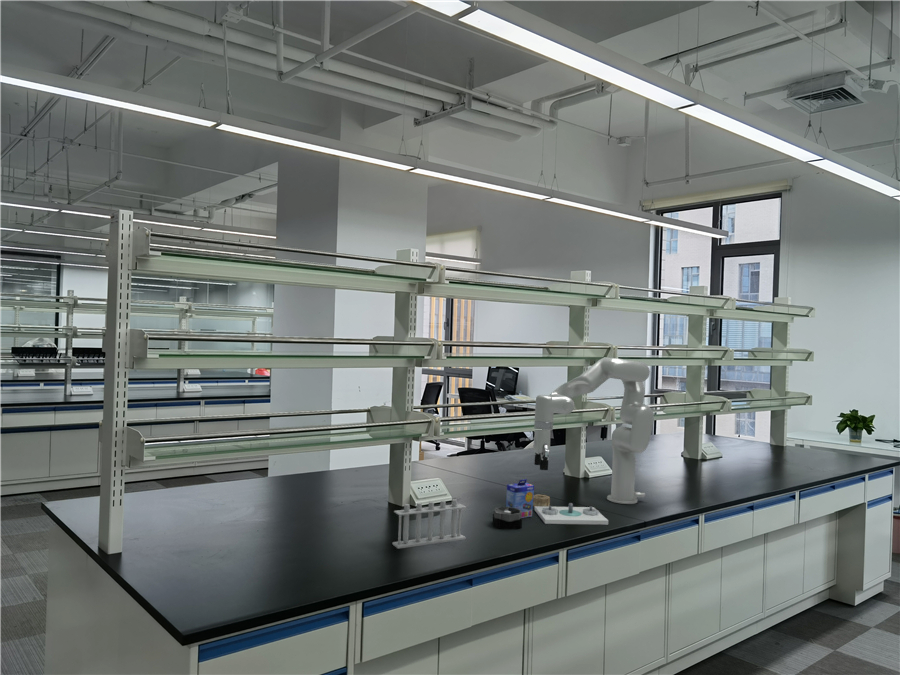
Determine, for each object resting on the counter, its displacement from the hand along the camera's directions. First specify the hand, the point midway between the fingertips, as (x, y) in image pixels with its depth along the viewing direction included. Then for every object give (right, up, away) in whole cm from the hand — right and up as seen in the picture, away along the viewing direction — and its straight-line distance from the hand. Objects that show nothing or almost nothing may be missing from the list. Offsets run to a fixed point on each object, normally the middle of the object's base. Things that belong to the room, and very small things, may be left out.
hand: (540, 467), depth 265 cm
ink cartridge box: (-11, -16, -17) cm, 25 cm away
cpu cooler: (-16, -16, -29) cm, 36 cm away
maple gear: (0, -16, 0) cm, 16 cm away
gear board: (+9, -16, -15) cm, 24 cm away
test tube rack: (-44, -15, -51) cm, 69 cm away
